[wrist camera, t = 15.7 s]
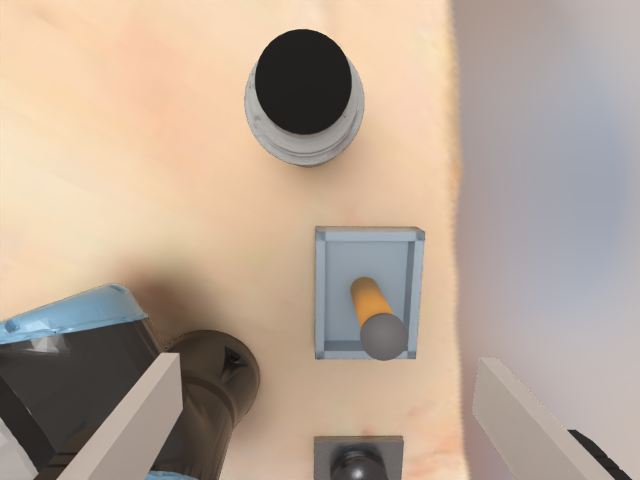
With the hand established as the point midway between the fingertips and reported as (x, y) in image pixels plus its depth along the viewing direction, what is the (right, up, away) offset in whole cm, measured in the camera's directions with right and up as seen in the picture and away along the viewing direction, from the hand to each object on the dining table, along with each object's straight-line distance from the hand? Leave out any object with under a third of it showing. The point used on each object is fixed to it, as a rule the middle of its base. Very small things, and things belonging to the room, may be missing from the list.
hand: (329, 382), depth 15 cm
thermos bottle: (-2, +20, +29) cm, 36 cm away
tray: (+6, -1, +34) cm, 34 cm away
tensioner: (+6, -36, +41) cm, 55 cm away
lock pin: (+6, -1, +33) cm, 33 cm away
